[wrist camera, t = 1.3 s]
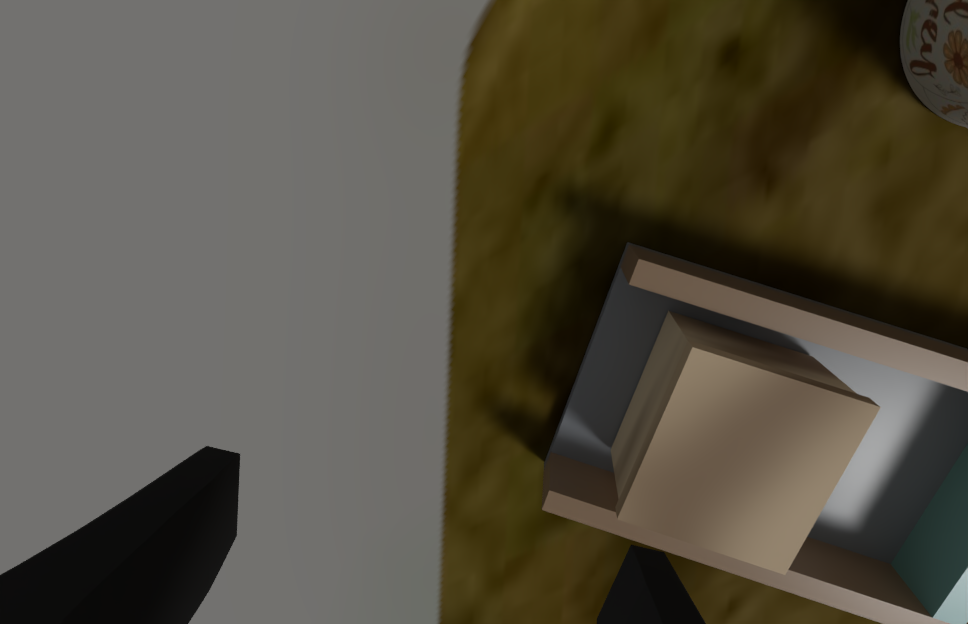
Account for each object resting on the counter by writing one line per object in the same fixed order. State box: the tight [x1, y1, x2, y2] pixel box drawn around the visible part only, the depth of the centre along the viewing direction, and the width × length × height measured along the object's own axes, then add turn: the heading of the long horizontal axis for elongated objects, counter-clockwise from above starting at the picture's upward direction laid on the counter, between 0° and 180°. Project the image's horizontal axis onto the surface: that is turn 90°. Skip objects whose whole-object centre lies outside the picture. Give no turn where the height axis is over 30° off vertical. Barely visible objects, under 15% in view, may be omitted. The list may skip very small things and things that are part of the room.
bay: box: [542, 242, 968, 624], centre depth 19 cm, size 14×9×3 cm, turn 74°
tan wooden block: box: [611, 311, 881, 575], centre depth 18 cm, size 5×6×4 cm
